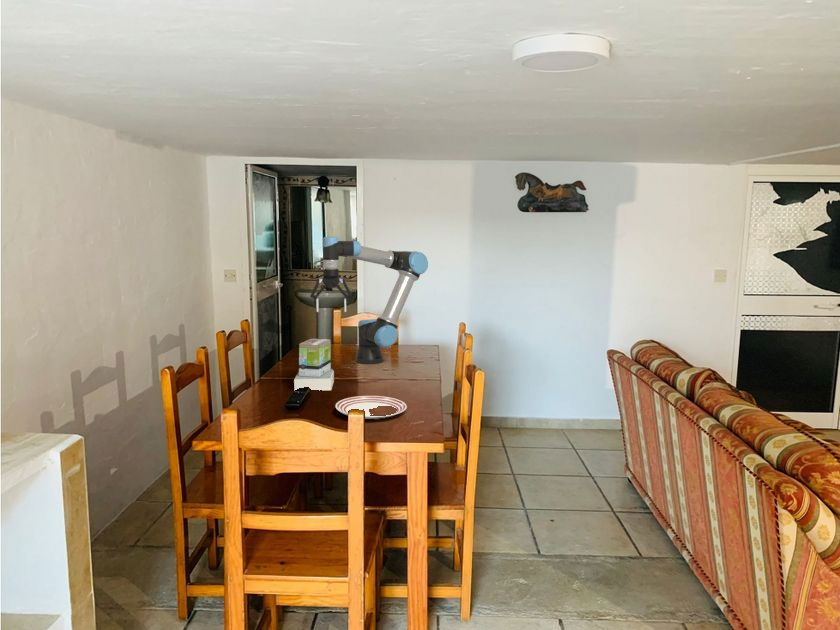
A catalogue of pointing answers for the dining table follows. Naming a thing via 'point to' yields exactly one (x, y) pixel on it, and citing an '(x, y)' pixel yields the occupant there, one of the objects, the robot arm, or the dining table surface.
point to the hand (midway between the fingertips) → (331, 311)
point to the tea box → (314, 357)
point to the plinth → (315, 381)
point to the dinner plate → (370, 405)
